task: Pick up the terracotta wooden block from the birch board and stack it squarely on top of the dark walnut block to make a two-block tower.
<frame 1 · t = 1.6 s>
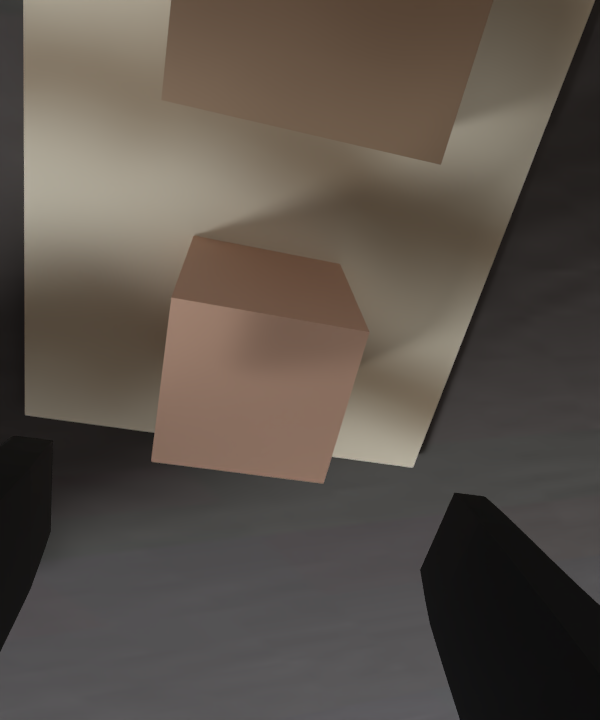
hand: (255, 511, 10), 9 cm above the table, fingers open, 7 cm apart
birch board: (286, 153, 16), on the table
clay block: (255, 317, 18), point 1 cm above the table, touching birch board
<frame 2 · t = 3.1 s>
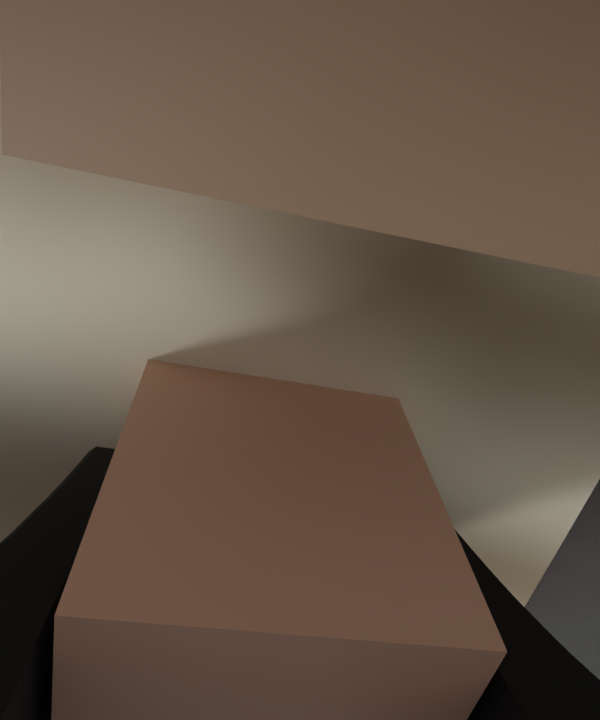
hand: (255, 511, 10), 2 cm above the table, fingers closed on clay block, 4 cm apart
birch board: (309, 218, 9), on the table
clay block: (254, 478, 11), point 1 cm above the table, touching birch board, gripper
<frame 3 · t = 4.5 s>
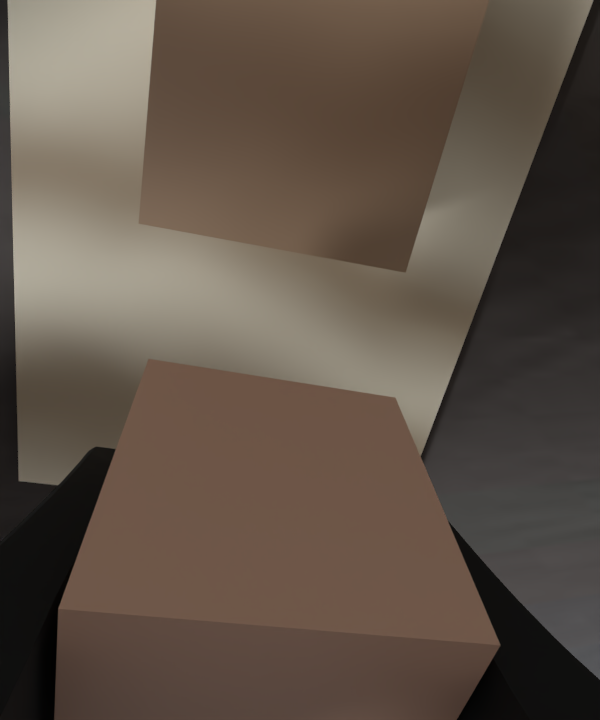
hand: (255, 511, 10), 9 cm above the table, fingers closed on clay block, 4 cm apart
walnut block: (292, 94, 14), point 1 cm above the table, touching birch board
birch board: (265, 237, 17), on the table
clay block: (253, 476, 11), point 8 cm above the table, touching gripper
when the fingers open (7 cm above the table, at t = 5.9 s): clay block stays where it is, resting on walnut block.
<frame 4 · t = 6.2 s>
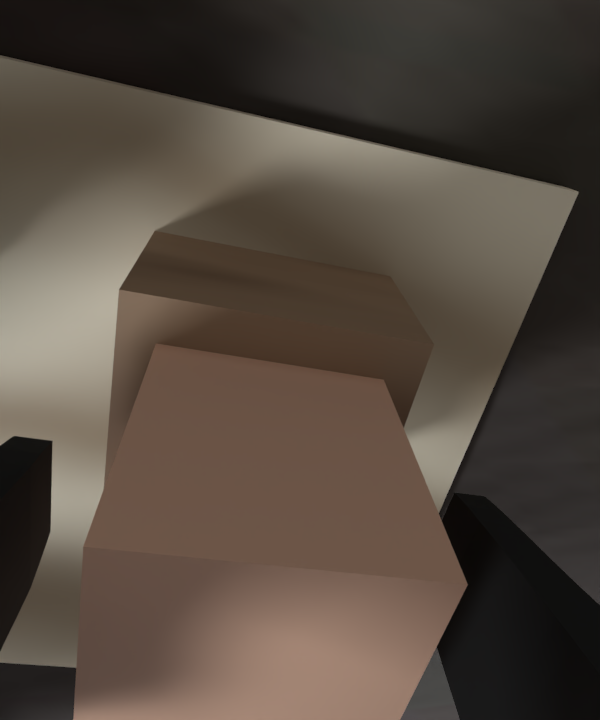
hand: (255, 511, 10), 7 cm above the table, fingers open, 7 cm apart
walnut block: (255, 358, 15), point 1 cm above the table, touching birch board, clay block
birch board: (232, 460, 18), on the table
clay block: (253, 454, 12), point 5 cm above the table, touching walnut block
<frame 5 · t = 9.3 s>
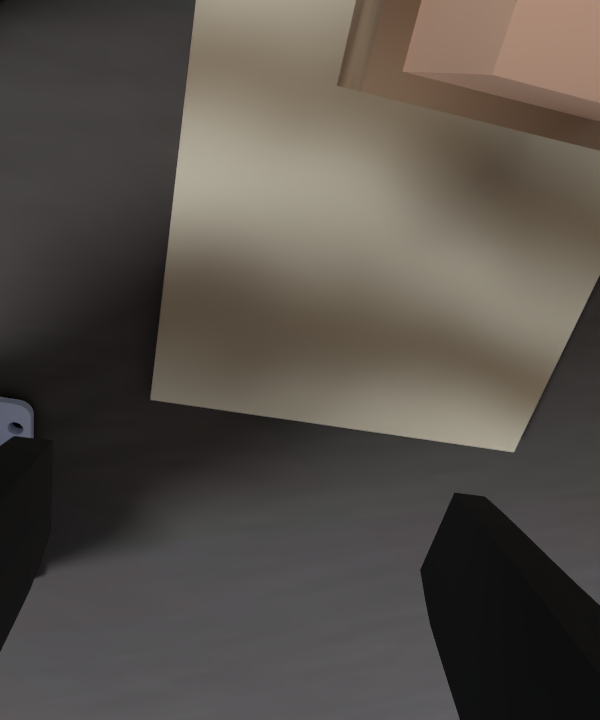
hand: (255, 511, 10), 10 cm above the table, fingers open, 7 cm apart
birch board: (421, 145, 17), on the table
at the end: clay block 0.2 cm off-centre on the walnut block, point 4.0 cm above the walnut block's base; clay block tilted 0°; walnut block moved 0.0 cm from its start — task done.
